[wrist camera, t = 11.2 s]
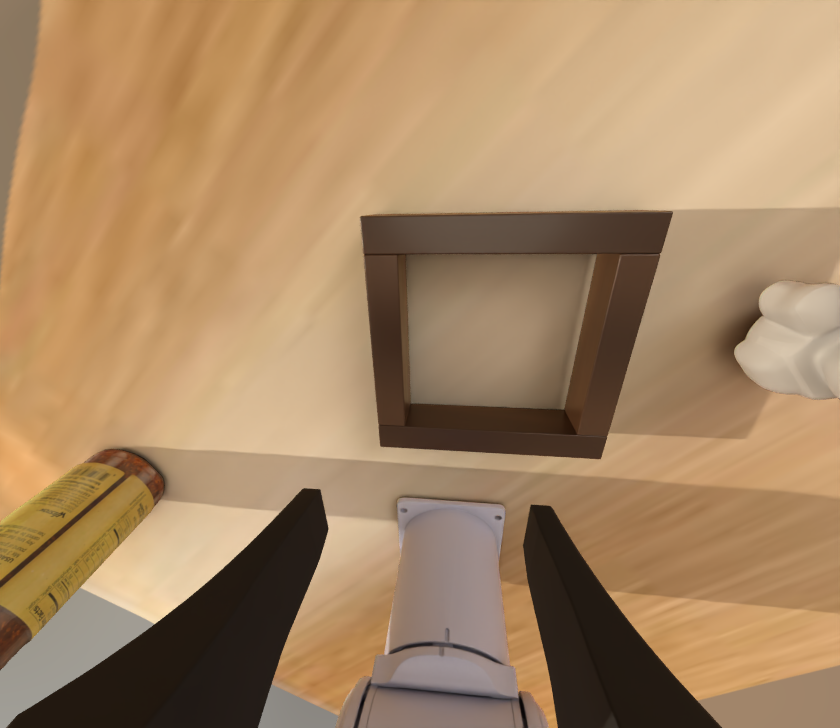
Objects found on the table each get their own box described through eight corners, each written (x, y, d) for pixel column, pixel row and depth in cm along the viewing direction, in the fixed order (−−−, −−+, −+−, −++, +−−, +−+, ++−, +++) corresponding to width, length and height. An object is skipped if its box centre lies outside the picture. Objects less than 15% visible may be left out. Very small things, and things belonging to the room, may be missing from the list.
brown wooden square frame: (585, 431, 21) (601, 459, 18) (388, 422, 22) (380, 447, 20) (642, 210, 15) (674, 211, 13) (372, 214, 16) (359, 216, 14)
